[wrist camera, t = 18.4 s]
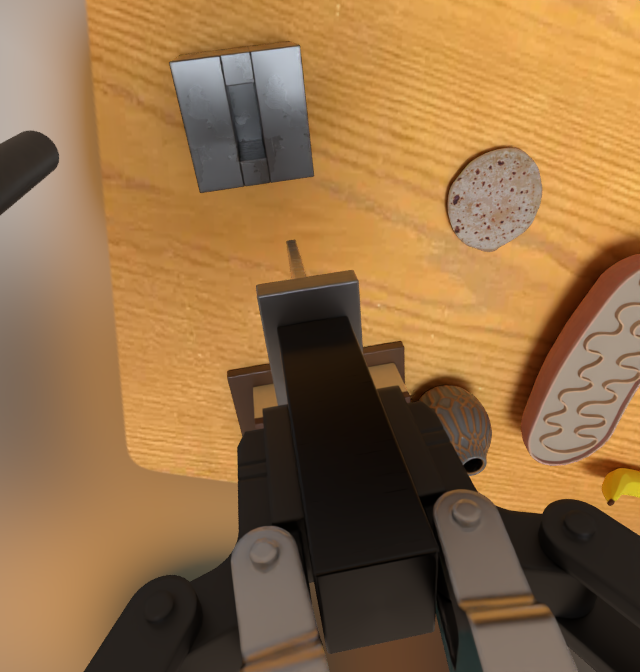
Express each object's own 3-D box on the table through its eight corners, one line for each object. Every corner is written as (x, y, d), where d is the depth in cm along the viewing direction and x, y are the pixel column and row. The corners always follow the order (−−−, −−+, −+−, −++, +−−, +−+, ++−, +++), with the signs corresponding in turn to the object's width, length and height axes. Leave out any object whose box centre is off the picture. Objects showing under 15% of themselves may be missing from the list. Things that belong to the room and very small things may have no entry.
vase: (454, 430, 53) (490, 496, 45) (395, 423, 51) (422, 491, 44) (482, 378, 49) (525, 440, 42) (419, 369, 48) (454, 433, 40)
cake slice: (367, 438, 50) (379, 476, 46) (362, 367, 45) (375, 403, 41) (396, 433, 50) (411, 470, 46) (394, 362, 45) (410, 396, 41)
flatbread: (440, 164, 37) (444, 167, 36) (537, 134, 37) (544, 136, 36) (451, 260, 42) (456, 265, 41) (538, 233, 41) (545, 237, 41)
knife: (269, 328, 22) (313, 685, 10) (249, 221, 20) (279, 540, 8) (335, 317, 22) (452, 655, 11) (324, 210, 20) (467, 503, 8)
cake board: (251, 463, 51) (251, 471, 50) (227, 370, 44) (226, 377, 44) (402, 435, 52) (405, 442, 51) (401, 340, 45) (404, 346, 45)
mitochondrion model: (562, 434, 56) (589, 468, 52) (484, 428, 53) (506, 463, 49) (682, 244, 44) (729, 268, 40) (590, 225, 42) (629, 248, 38)
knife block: (204, 168, 35) (200, 193, 30) (178, 55, 31) (168, 61, 26) (302, 154, 35) (314, 176, 30) (289, 41, 32) (300, 45, 27)
